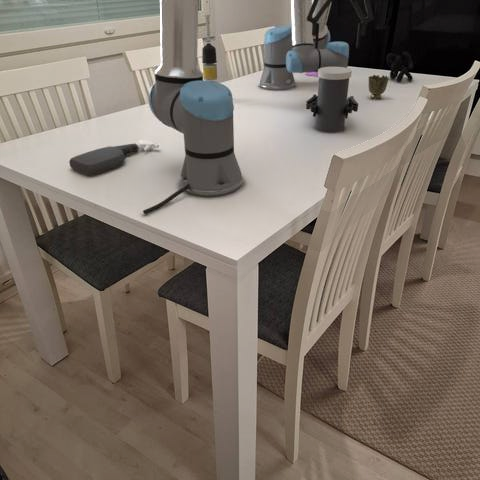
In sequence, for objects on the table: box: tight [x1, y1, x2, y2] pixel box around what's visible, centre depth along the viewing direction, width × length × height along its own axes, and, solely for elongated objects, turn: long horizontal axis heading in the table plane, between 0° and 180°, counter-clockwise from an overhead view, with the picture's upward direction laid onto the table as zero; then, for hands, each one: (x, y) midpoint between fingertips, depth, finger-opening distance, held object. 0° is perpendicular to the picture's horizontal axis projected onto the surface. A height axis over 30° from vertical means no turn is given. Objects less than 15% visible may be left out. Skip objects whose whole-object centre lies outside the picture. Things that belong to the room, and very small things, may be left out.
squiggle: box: [385, 51, 414, 83], centre depth 198 cm, size 11×10×15 cm
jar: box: [314, 77, 350, 134], centre depth 141 cm, size 9×9×18 cm
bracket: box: [305, 72, 318, 77], centre depth 214 cm, size 13×6×7 cm, turn 143°
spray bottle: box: [68, 139, 160, 177], centre depth 124 cm, size 3×11×24 cm
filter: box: [201, 14, 218, 82], centre depth 171 cm, size 6×6×30 cm
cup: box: [368, 74, 390, 99], centre depth 173 cm, size 8×7×8 cm
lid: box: [317, 67, 353, 80], centre depth 136 cm, size 10×10×2 cm
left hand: (336, 47), depth 132 cm, fingers open, 11 cm apart
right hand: (330, 113), depth 138 cm, fingers closed on jar, 9 cm apart
